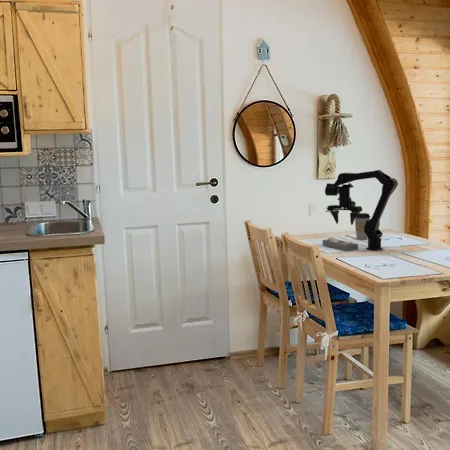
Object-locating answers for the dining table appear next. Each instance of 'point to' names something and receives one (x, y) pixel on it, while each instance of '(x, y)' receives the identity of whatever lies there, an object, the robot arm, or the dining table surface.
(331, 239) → the rocker far
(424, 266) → the dining table surface
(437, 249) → the dining table surface
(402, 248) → the dining table surface
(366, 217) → the coffee cup
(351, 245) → the rocker switch box
